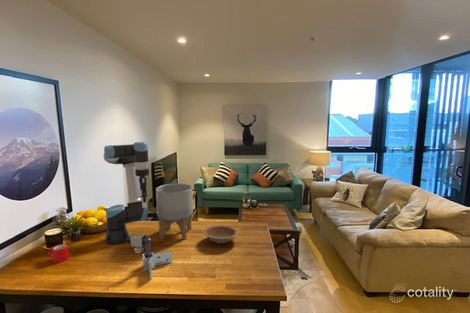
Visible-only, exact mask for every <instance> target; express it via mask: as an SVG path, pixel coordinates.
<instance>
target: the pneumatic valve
mask: <svg viewBox="0 0 470 313" xmlns="http://www.w3.org/2000/svg"><path fill="white" fill-rule="evenodd" d="M146 237H148V235H147V234H143V233H132V234H131V235H129V238H128V240H127V243H128V244H129V247H134V249H133V250H134V253H135V254H142V253H143V252H144V248H145V242H144V238H146Z"/></svg>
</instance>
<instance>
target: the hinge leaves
mask: <svg viewBox="0 0 470 313" xmlns="http://www.w3.org/2000/svg"><path fill="white" fill-rule="evenodd" d="M172 252H173V251H172V249H171V250H167V251H163V252H156V253H154V251H151V257H147V258H146V252H145V253H142V267H143V272H144V271H148V274H149V279H150V281H152V280H153V272H152V270H154V269H155V268H156V266H162V265H167V264H171V263H173V253H172Z"/></svg>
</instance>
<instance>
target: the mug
mask: <svg viewBox="0 0 470 313" xmlns="http://www.w3.org/2000/svg"><path fill="white" fill-rule="evenodd" d="M47 253H48V255H49V257H50V258H52V259H53V263H54V264H59V263H60V264H61V263H63V262H64V263H65V262H66V261H68V260H69V259H70V251H69V244H68V243H61V244H58V245H57V244H56V245H55V246H50V247H49V249H48V251H47Z"/></svg>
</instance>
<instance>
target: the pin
mask: <svg viewBox="0 0 470 313" xmlns="http://www.w3.org/2000/svg"><path fill="white" fill-rule="evenodd" d="M151 241H152V237H150V236H147V237H146V238H144V242H145V246H144V248H145V251H144V252H145V253H146V258H147V257H151V252H152V251H151Z"/></svg>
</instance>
